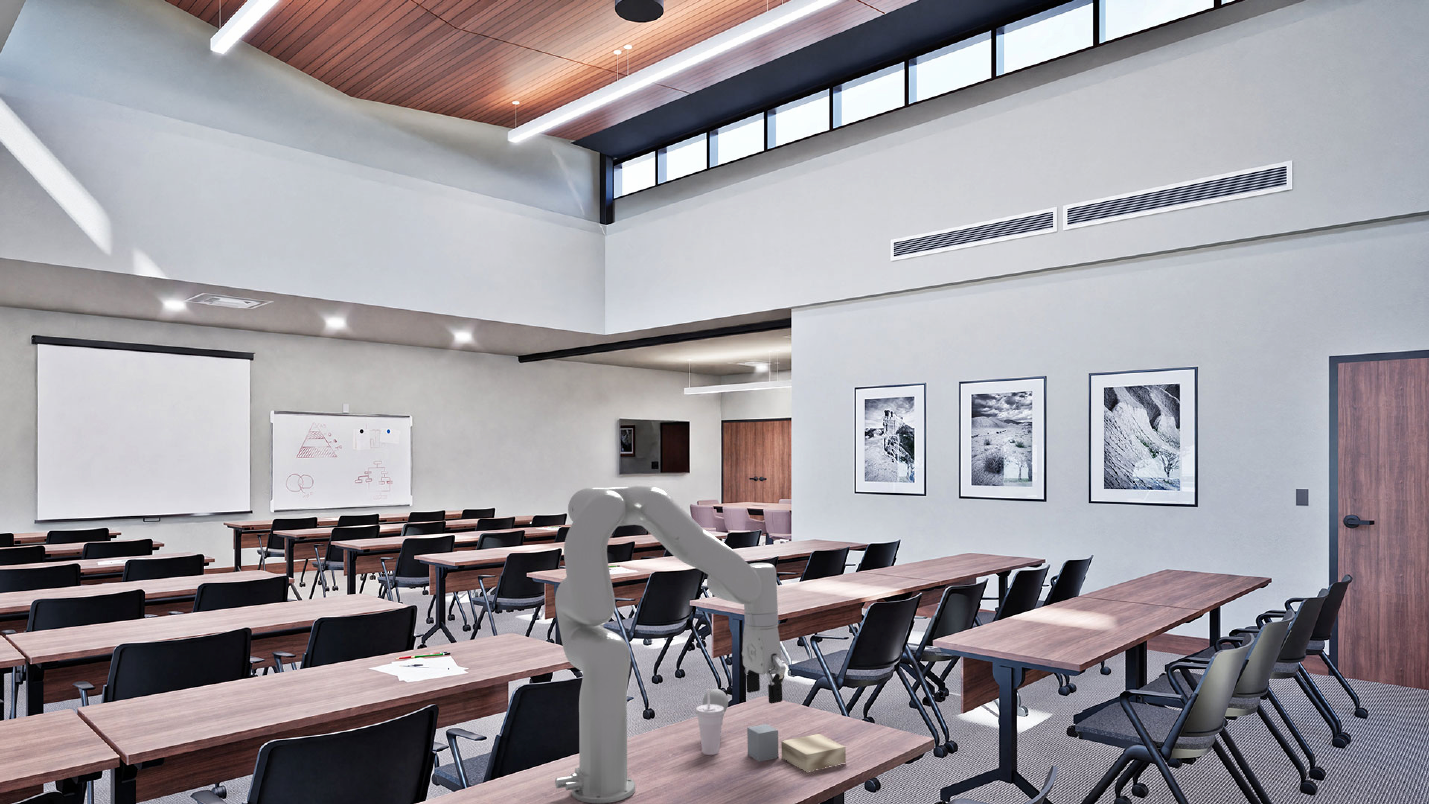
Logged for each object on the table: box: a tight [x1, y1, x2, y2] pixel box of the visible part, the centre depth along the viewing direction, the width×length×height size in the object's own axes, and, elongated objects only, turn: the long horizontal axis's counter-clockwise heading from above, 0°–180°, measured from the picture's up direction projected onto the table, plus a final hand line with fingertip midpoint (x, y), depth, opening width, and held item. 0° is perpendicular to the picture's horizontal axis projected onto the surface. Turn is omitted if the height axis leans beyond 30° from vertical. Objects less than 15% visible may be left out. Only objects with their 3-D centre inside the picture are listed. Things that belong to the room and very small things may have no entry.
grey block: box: [746, 723, 780, 763], centre depth 187 cm, size 5×5×6 cm
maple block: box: [780, 733, 847, 773], centre depth 184 cm, size 10×10×4 cm
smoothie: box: [695, 688, 725, 756], centre depth 190 cm, size 6×6×14 cm
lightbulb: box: [702, 688, 729, 722], centre depth 201 cm, size 6×6×11 cm
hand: (764, 696), depth 188 cm, fingers open, 9 cm apart
